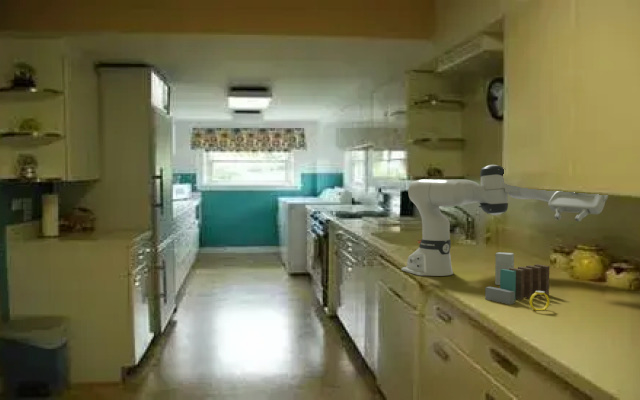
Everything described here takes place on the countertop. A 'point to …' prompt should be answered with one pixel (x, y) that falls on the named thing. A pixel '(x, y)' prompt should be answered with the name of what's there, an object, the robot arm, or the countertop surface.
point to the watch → (540, 294)
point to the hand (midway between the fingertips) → (566, 219)
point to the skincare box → (503, 264)
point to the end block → (500, 295)
